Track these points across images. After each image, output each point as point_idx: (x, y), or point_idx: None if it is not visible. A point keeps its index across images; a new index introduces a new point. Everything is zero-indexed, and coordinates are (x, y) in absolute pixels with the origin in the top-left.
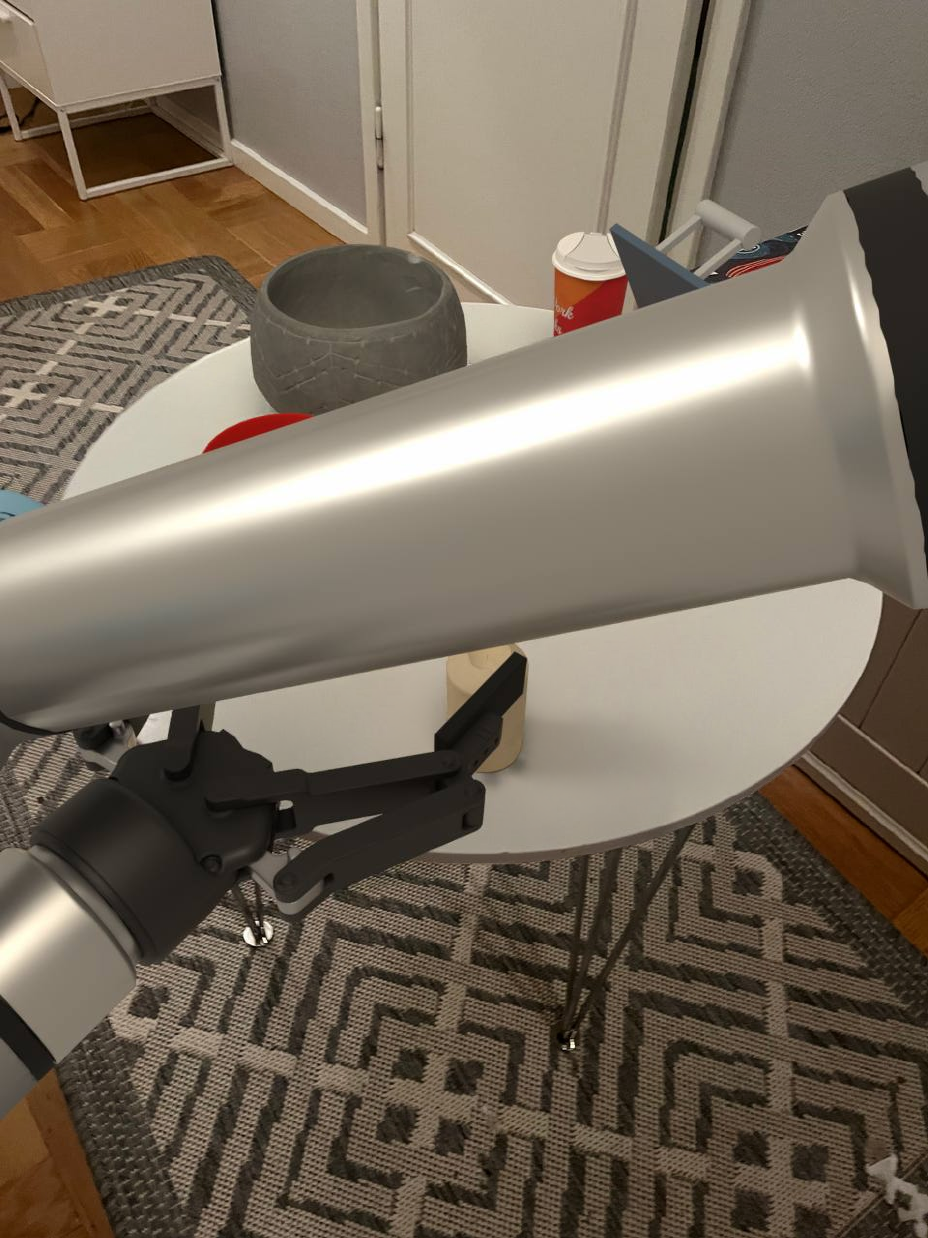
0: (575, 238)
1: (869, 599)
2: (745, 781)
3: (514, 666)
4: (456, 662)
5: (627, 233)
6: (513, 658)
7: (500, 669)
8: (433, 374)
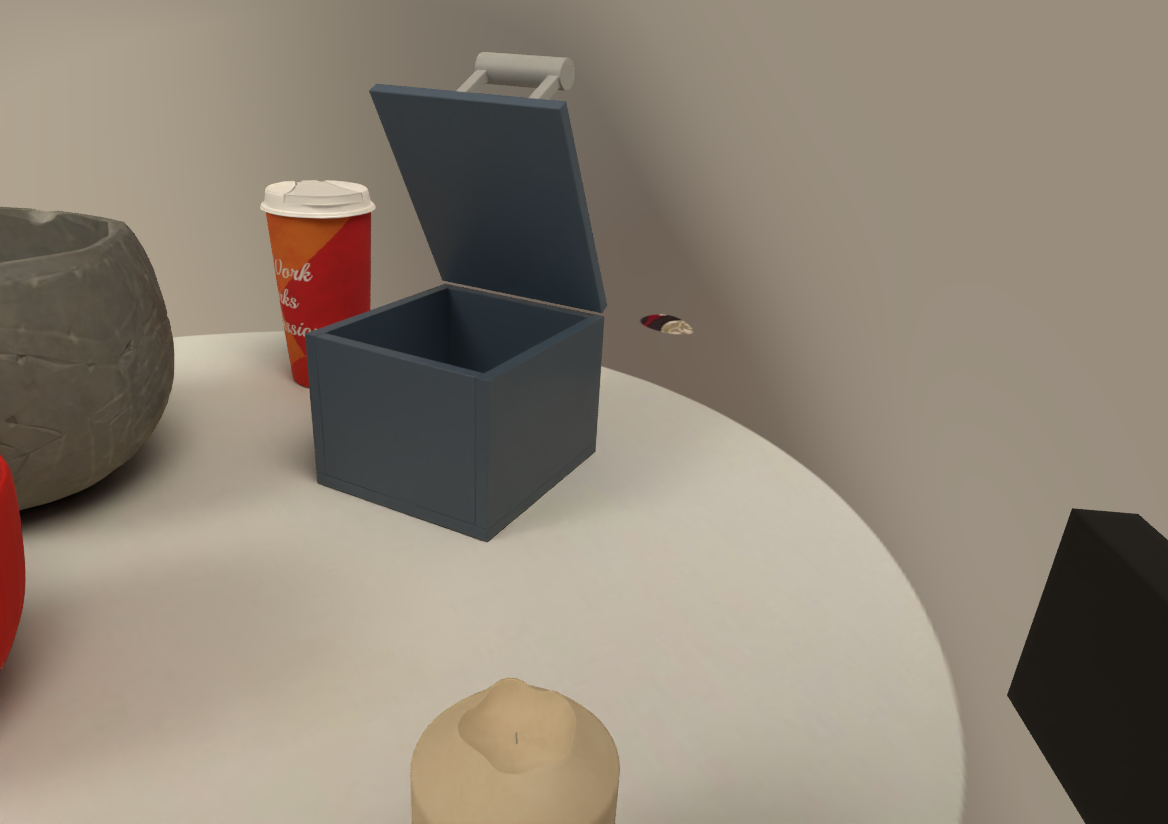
0: (286, 185)
1: (835, 494)
2: (960, 787)
3: (1166, 552)
4: (450, 785)
5: (400, 88)
6: (1110, 531)
7: (1161, 580)
8: (127, 343)
